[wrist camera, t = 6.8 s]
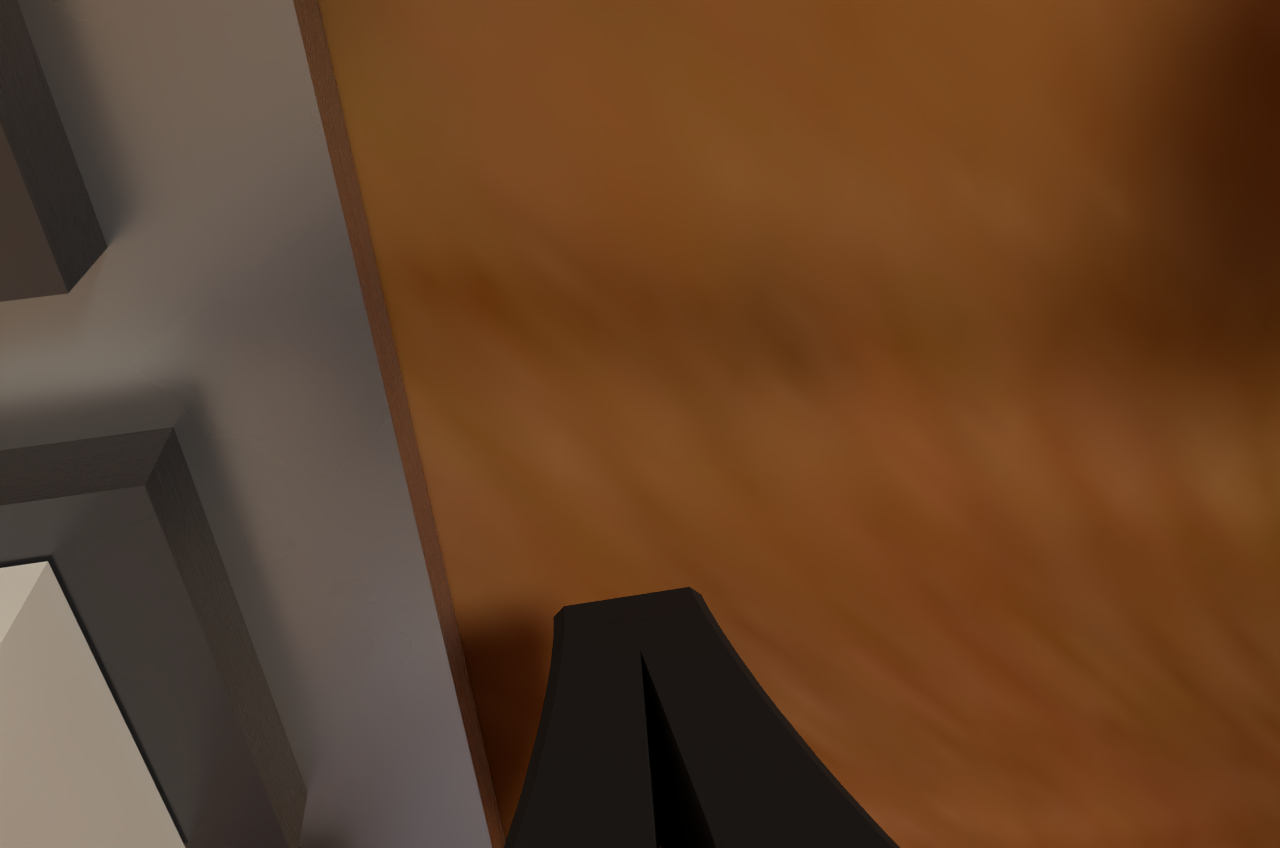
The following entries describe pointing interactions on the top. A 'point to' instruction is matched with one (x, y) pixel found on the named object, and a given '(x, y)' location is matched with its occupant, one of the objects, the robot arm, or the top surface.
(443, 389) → the top surface
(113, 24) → the breaker panel
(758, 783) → the robot arm
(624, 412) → the top surface
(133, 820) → the breaker middle
